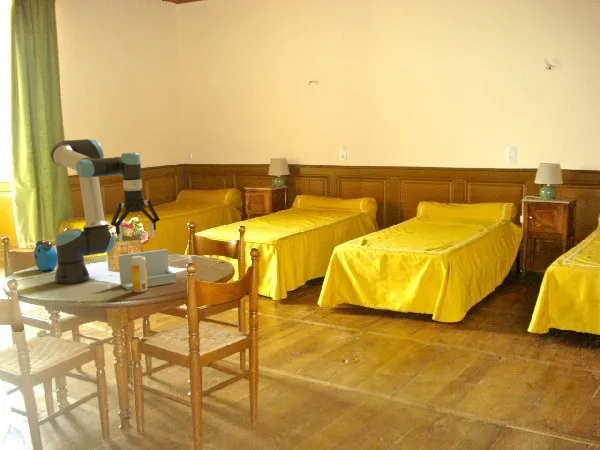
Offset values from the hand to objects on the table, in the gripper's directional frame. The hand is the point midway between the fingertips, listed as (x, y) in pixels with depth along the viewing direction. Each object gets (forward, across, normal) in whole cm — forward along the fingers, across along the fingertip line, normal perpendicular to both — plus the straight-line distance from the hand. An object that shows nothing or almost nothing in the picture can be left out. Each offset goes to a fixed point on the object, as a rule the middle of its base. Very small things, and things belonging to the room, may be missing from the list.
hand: (136, 239), depth 280 cm
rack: (+22, +7, +11) cm, 26 cm away
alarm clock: (+22, -26, +72) cm, 80 cm away
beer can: (+22, 0, 0) cm, 23 cm away
